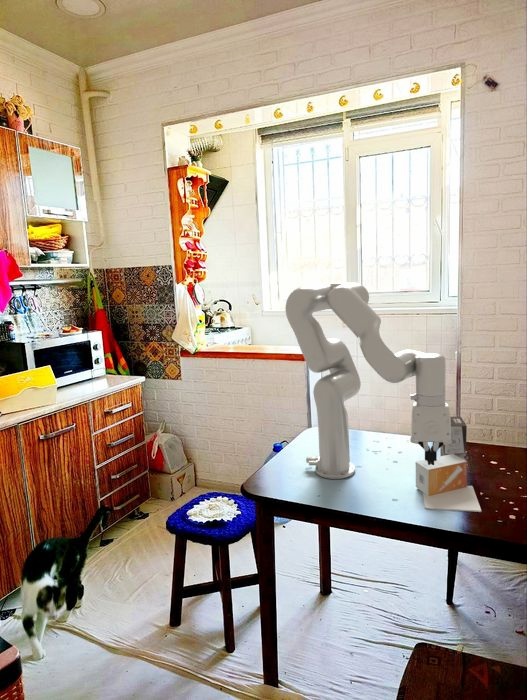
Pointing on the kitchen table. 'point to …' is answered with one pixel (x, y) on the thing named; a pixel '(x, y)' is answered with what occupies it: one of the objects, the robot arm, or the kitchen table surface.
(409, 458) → the kitchen table surface
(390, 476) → the kitchen table surface
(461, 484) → the small box
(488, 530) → the kitchen table surface
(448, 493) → the mat
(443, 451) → the coffee box
